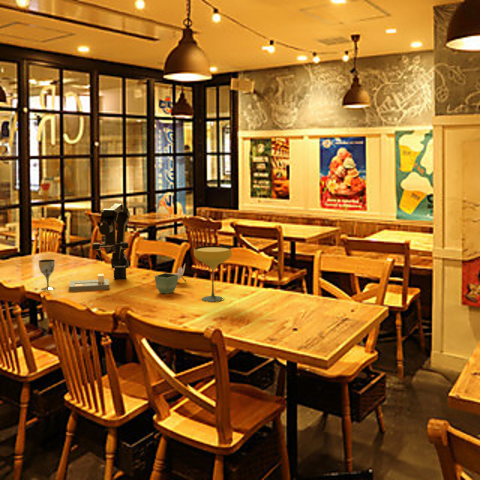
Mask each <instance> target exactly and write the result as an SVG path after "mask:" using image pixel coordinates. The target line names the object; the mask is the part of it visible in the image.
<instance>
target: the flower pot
mask: <svg viewBox="0 0 480 480" xmlns="http://www.w3.org/2000/svg"><path fill="white" fill-rule="evenodd" d="M154 281H155V286H156V288H157V291H158V292H159V293H161V294H167V295H168V294H171V293H174V291H175V290H176V288H177V287H178V286H177V285H178V282H179V280H178V275H175V274H174V273H168V272H163V273H159V274H156V275H154Z"/></svg>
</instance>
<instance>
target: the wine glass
mask: <svg viewBox="0 0 480 480" xmlns="http://www.w3.org/2000/svg"><path fill="white" fill-rule="evenodd" d="M55 263H56V261H55V259H52V258H51V259H50V258H48V259H47V258H46V259H41V260H40V259H39V260H38V268H39V271H40V273H41V274H42V275H43V276H44V277H45V280H46V286H45V287H42V288H40V290H41V291H52V290H55V289H56V288H55V287H53V286H50V284H49V283H50V279H49V278H50V276H52V274H53V273H54V271H55V267H56V264H55Z"/></svg>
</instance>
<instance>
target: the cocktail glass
mask: <svg viewBox="0 0 480 480" xmlns="http://www.w3.org/2000/svg"><path fill="white" fill-rule="evenodd" d="M193 256H194V258H195V259H197V260H198V261H199V262H201V263H203V264H205V265H207V266H208V267H209V269H210V270H211V272H212V273H211V295H208V296H204V297H202V298H201V300H202V302H206V301H208V302H207V303H217V302H216V301H219V302H221V301H220V300H222V299H223V298H224V297H223V296H221V295H215V288H214V270H215V269H216V268H217V267H218V266H219V265H220V264H223V263H224V262H226V261H228V260H229V259H230V258H231V257H232V247H229V246H225V245H224V246H222V245H221V246H220V245H203V246H197V247H195V248H194V249H193ZM222 297H223V298H222Z"/></svg>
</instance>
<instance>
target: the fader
mask: <svg viewBox="0 0 480 480" xmlns="http://www.w3.org/2000/svg"><path fill="white" fill-rule="evenodd" d="M104 279H105V275H104V273H98V274H97V280H98V283H101V282H104Z"/></svg>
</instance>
